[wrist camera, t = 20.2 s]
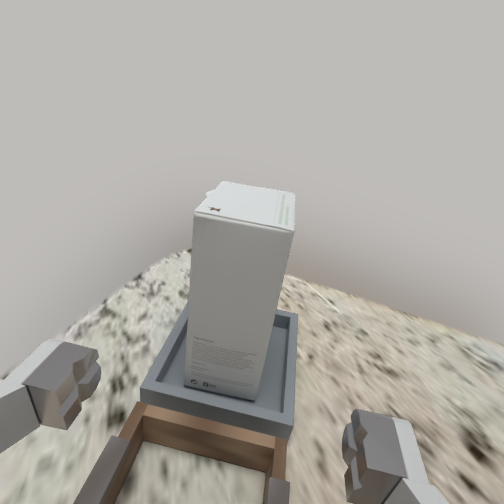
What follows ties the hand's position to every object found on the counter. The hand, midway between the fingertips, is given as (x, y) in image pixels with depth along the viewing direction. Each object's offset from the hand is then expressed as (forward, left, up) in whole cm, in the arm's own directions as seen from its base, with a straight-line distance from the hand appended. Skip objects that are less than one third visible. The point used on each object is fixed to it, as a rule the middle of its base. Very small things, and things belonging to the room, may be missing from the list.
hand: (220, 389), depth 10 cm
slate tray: (+1, -14, -15) cm, 21 cm away
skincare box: (+1, -14, -15) cm, 20 cm away
